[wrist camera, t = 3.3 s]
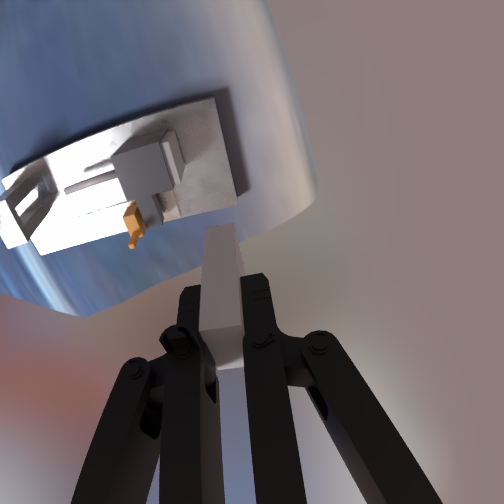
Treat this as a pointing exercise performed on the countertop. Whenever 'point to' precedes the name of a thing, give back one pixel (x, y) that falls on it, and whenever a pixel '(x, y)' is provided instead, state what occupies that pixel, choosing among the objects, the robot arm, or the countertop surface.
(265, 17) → the countertop surface
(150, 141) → the grey block with rod
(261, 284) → the robot arm
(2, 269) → the countertop surface
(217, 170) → the gauge board
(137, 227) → the orange peg piece
